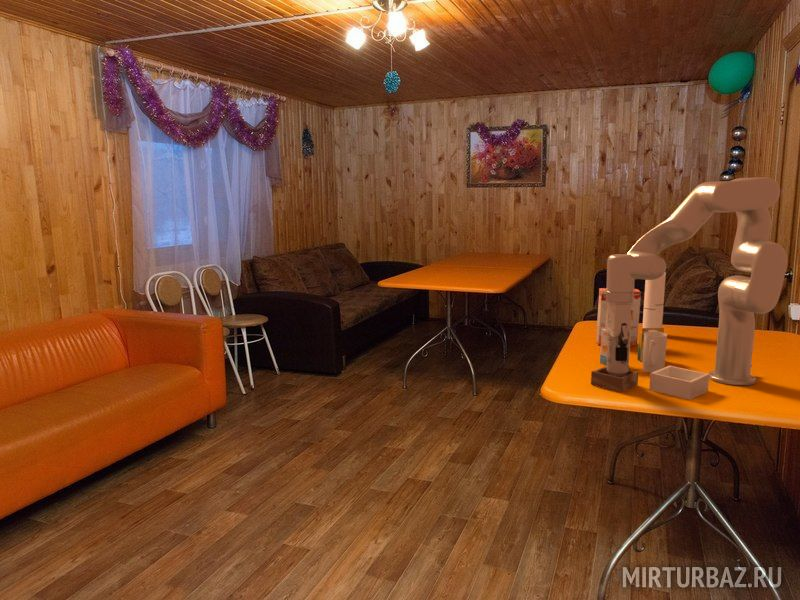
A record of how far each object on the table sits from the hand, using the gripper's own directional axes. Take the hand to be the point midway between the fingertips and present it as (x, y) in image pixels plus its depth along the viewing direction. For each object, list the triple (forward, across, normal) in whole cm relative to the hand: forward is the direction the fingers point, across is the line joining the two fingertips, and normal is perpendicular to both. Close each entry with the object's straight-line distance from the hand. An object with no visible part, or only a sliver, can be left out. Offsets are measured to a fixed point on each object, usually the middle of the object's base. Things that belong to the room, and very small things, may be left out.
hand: (617, 356), depth 180 cm
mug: (+9, -14, +15) cm, 22 cm away
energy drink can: (+5, 0, 0) cm, 5 cm away
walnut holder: (+8, 0, -1) cm, 9 cm away
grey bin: (+9, +4, +16) cm, 19 cm away
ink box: (+9, -21, +5) cm, 23 cm away
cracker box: (+9, -49, +13) cm, 52 cm away
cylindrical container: (+10, -66, +32) cm, 74 cm away
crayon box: (+9, -27, +18) cm, 34 cm away
